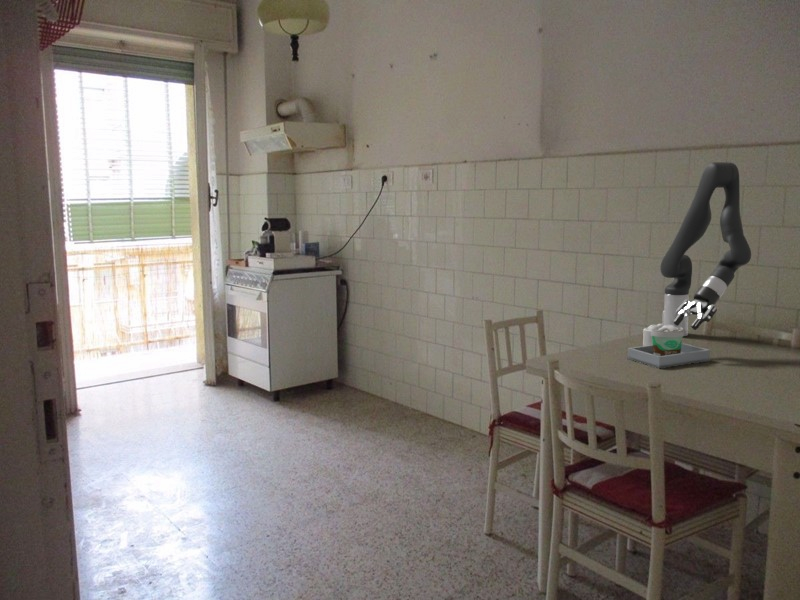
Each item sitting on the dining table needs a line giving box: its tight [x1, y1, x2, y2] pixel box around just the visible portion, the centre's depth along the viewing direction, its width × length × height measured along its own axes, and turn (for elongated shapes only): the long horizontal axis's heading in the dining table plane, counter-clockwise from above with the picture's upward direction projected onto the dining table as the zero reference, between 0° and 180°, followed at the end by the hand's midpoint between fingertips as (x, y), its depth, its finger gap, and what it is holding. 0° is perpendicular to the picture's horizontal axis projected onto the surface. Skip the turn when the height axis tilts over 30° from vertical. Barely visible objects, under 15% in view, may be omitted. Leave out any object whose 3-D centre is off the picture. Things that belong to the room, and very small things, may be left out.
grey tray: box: [627, 342, 711, 369], centre depth 237 cm, size 16×22×4 cm
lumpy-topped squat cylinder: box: [642, 323, 678, 346], centre depth 256 cm, size 10×13×9 cm
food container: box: [651, 327, 685, 356], centre depth 235 cm, size 12×6×10 cm, turn 102°
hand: (684, 326), depth 238 cm, fingers open, 8 cm apart
